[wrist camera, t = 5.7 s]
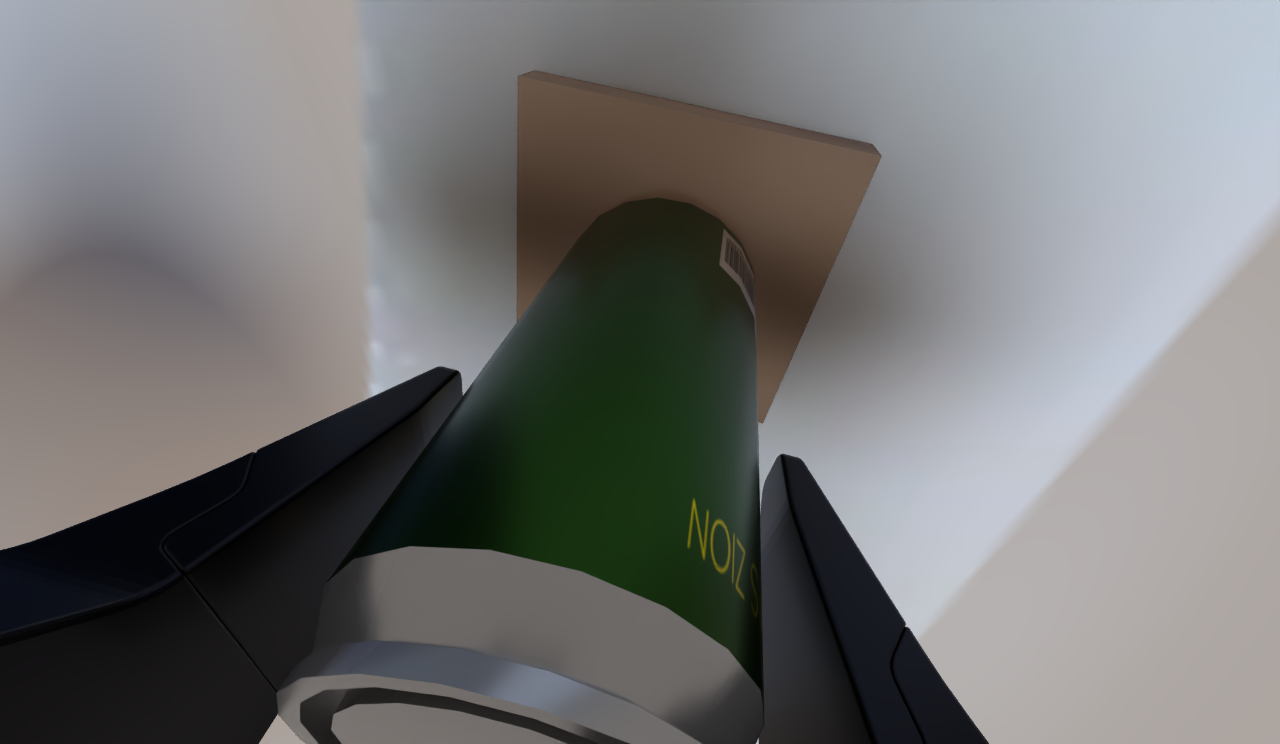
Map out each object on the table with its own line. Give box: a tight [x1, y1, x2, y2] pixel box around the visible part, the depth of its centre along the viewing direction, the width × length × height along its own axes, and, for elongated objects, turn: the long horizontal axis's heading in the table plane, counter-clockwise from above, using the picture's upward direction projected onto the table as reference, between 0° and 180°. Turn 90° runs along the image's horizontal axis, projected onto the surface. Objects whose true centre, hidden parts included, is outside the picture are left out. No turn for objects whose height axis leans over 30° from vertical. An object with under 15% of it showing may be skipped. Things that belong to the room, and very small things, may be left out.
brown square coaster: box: [517, 71, 881, 423], centre depth 15 cm, size 9×9×2 cm
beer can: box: [277, 197, 765, 744], centre depth 10 cm, size 5×5×12 cm
